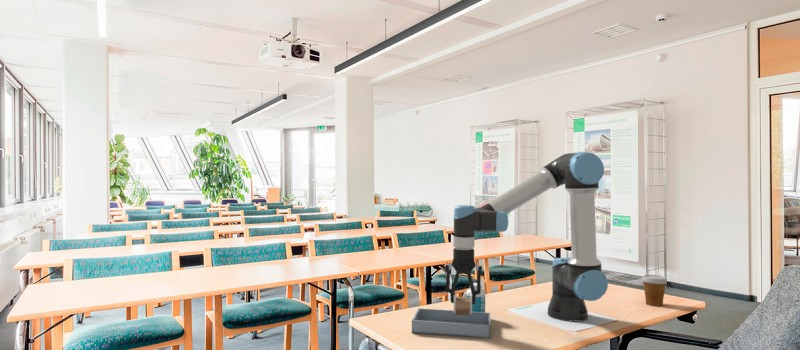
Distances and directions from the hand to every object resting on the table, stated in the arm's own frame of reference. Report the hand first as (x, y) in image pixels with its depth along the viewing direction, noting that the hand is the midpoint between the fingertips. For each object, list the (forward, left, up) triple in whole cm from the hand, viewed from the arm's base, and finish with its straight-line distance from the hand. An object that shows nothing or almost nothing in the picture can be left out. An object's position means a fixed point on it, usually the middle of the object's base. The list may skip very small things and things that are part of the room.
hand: (462, 312), depth 168 cm
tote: (+4, 0, -6) cm, 7 cm away
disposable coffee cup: (-80, -51, -7) cm, 95 cm away
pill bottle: (-4, -14, -7) cm, 16 cm away
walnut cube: (0, 0, 0) cm, 1 cm away
